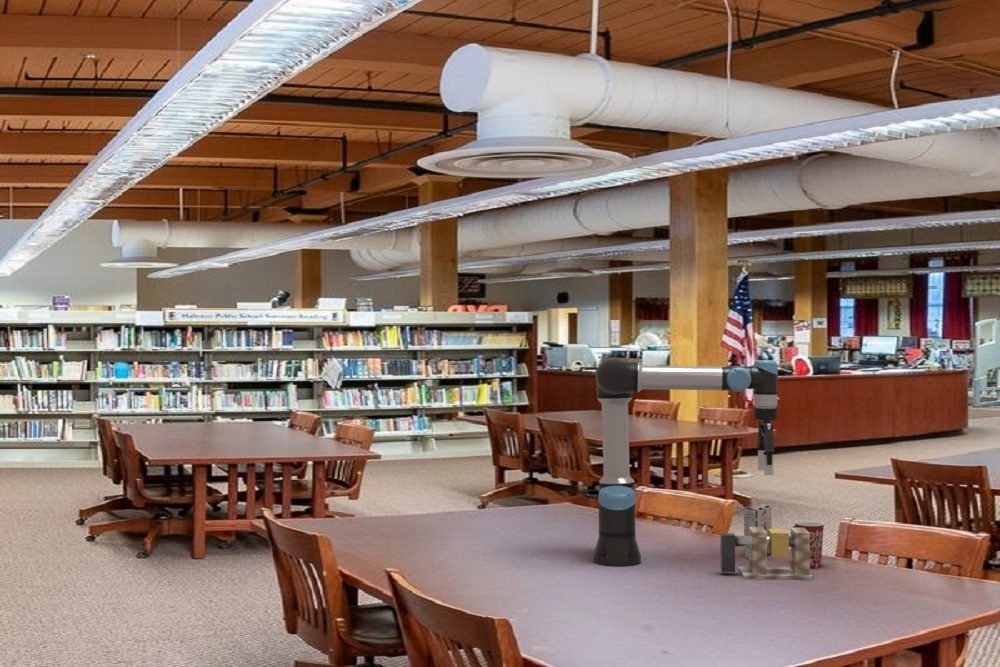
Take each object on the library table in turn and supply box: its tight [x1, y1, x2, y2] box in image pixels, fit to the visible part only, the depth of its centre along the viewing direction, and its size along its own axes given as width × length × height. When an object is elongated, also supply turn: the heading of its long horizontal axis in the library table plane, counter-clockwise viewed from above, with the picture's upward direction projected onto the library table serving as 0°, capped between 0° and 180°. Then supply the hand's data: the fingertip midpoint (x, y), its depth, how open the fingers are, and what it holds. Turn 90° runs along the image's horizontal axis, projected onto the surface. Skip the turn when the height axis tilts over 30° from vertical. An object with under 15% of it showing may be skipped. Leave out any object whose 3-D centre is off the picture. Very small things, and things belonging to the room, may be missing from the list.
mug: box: [791, 520, 825, 569], centre depth 373 cm, size 13×9×14 cm
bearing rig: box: [738, 527, 813, 581], centre depth 358 cm, size 20×13×14 cm, turn 85°
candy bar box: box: [743, 503, 772, 559], centre depth 388 cm, size 11×5×16 cm, turn 143°
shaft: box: [719, 532, 795, 573], centre depth 359 cm, size 24×4×11 cm, turn 85°
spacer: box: [768, 528, 790, 558], centre depth 358 cm, size 5×8×7 cm, turn 176°
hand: (765, 472), depth 387 cm, fingers open, 13 cm apart
